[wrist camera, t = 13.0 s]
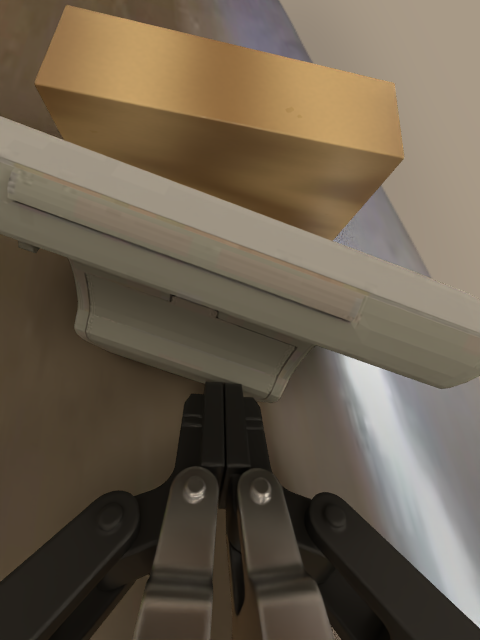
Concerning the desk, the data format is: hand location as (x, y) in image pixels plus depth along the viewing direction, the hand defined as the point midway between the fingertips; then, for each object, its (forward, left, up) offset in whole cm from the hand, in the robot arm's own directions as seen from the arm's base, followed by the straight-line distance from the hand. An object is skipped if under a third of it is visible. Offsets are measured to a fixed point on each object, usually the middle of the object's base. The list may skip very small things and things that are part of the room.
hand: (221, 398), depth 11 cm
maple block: (+1, -14, -4) cm, 14 cm away
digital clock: (+1, -5, -4) cm, 7 cm away
